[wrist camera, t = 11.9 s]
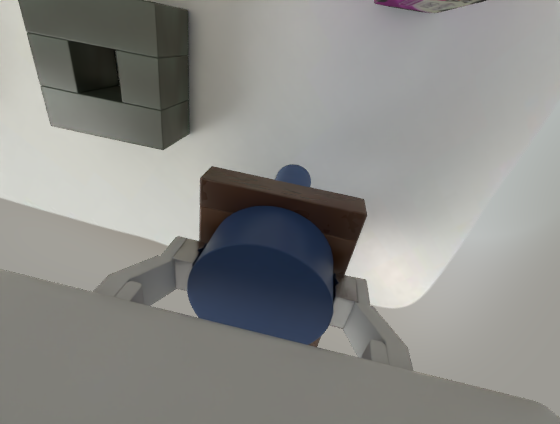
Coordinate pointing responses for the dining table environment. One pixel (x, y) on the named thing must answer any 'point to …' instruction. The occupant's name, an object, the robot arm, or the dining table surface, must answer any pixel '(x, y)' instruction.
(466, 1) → the candy bar box
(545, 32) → the dining table surface
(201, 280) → the peg
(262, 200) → the stand
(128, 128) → the holder
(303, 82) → the dining table surface
